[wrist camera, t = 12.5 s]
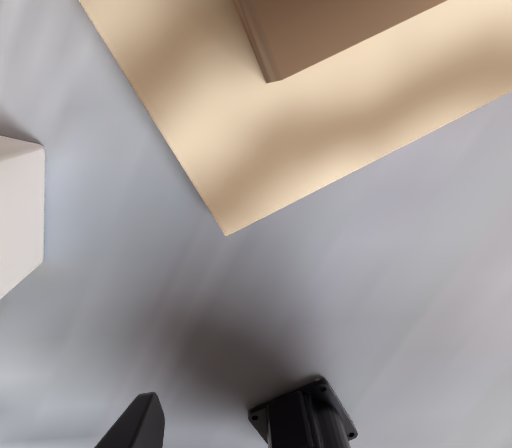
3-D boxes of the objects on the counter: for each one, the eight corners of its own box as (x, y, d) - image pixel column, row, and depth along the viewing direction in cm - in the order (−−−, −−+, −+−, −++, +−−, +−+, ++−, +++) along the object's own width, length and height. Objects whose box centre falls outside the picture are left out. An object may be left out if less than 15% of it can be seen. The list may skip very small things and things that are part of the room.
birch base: (497, 83, 17) (527, 82, 15) (227, 222, 19) (225, 236, 18) (398, -356, 12) (428, -440, 10) (35, -92, 14) (4, -119, 12)
